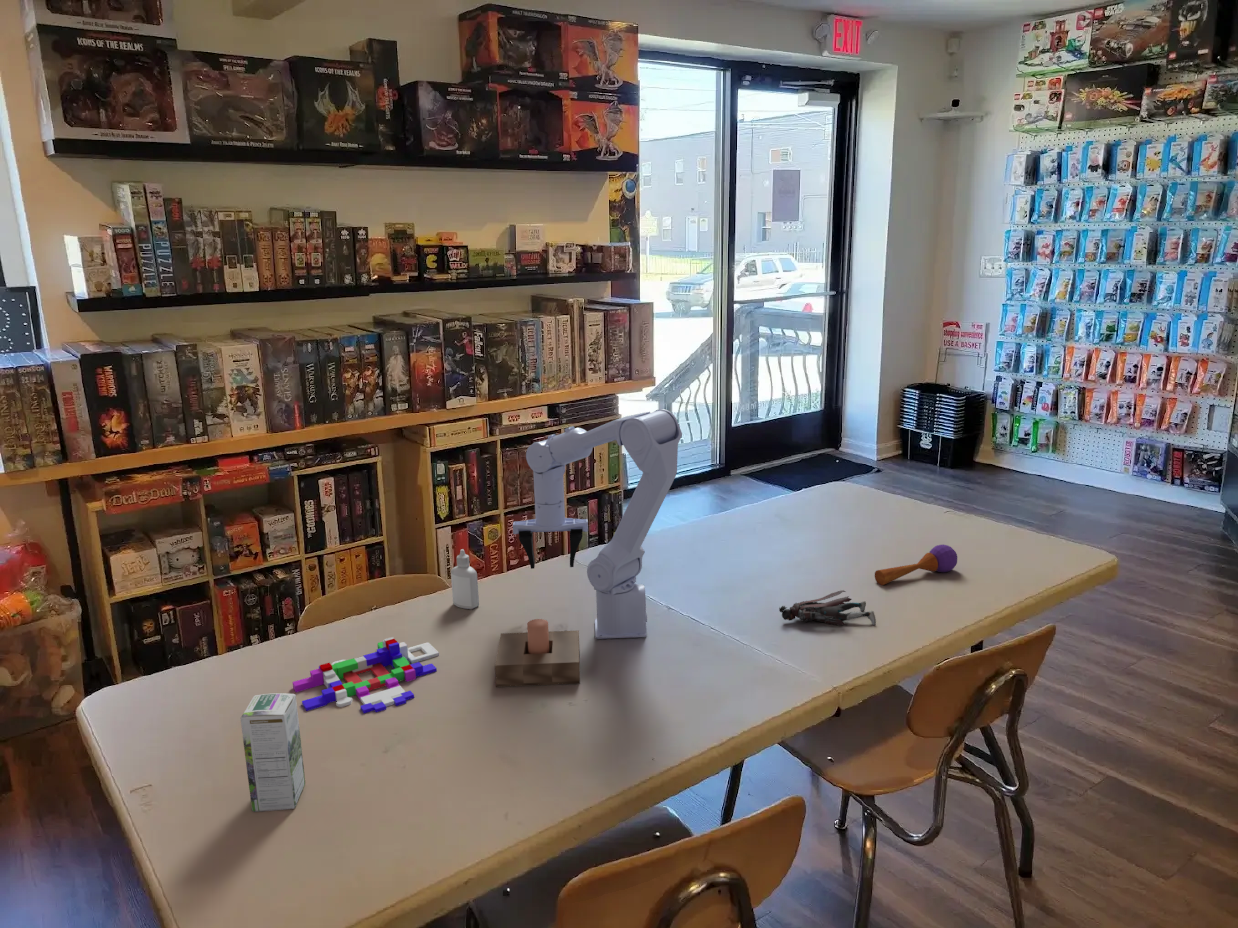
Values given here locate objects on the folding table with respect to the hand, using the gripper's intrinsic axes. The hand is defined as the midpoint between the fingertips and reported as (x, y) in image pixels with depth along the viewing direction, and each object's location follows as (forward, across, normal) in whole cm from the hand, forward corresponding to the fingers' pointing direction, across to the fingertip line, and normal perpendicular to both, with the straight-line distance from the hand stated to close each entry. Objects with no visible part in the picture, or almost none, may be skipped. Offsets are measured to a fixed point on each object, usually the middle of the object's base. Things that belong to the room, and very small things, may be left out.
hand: (552, 566), depth 178 cm
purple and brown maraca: (+10, -77, -10) cm, 79 cm away
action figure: (+10, -52, +9) cm, 54 cm away
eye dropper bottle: (+10, +18, -4) cm, 21 cm away
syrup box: (+10, +36, +58) cm, 69 cm away
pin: (+9, +2, +24) cm, 26 cm away
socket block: (+9, +2, +24) cm, 26 cm away
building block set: (+10, +30, +26) cm, 41 cm away
